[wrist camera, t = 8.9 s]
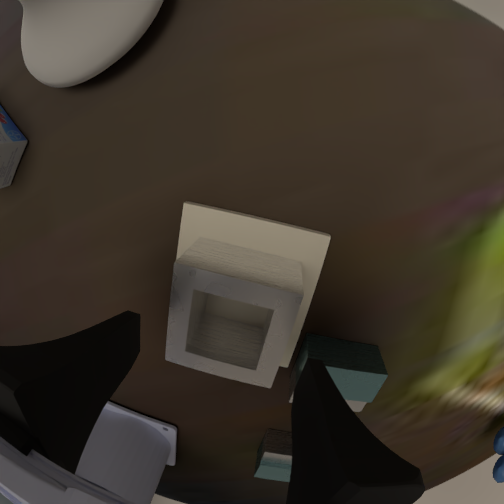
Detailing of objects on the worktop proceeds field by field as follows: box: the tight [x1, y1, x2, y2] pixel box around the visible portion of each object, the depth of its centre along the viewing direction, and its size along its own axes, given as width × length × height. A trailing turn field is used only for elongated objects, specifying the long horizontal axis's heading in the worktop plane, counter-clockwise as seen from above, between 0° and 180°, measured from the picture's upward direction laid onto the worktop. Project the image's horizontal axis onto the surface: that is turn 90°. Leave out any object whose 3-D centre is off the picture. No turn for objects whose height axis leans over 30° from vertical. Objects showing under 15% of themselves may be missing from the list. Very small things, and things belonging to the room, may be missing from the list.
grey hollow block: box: [165, 237, 304, 388], centre depth 15 cm, size 6×6×4 cm
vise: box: [254, 333, 388, 482], centre depth 19 cm, size 5×14×3 cm, turn 168°
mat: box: [176, 201, 331, 368], centre depth 17 cm, size 8×9×1 cm
